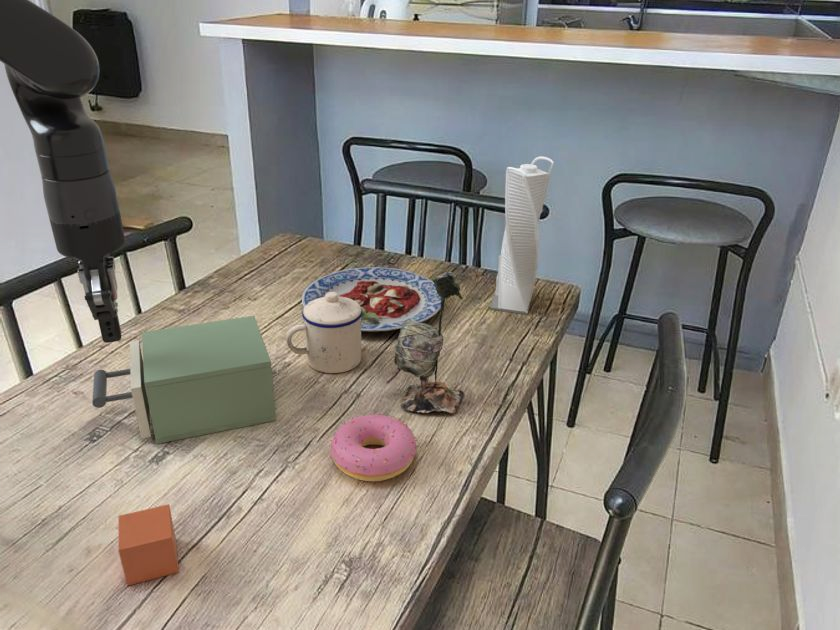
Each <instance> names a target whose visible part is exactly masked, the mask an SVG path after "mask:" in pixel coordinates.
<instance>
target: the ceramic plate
mask: <svg viewBox="0 0 840 630" xmlns="http://www.w3.org/2000/svg"><path fill="white" fill-rule="evenodd" d="M433 281H434V280H431V279H429V278H427V277H425V276H423V275H422V274H419V273H415V272H412V271H409V270H404V269H399V268H391V267H379V266H378V267H377V266H374V267H373V266H372V267H368V266H367V267H355V268H348V269H343V270H338V271H335V272H332V273H329V274H326V275H324V276H322V277H319V278H317V279H316V280H314V281H313V282H311V283H310V284H309V285H308V286H307V287H306V288H305V289H304V291H303V292H302V295H301V304H302V307H303V309H304V308H305V306H306V305H307V304H308V303H309V302H311V301H313V300H315V299H318V298H322V297H325V295H326V294H327V293H328V292H336V293H337V294H338V296H340V297H346V298H349V299H352V300H354V301H356V302H357V303H358V304H359V305H360V307H361V309H362V316H361V332H388V331H395V330H399V329H400V330H401V327H402V325H403V323H404V321H406V320H415V321H418V322H420V323H424V322H425V321H427V320H430V319H431V318H432V317H433V316H435V315H436V314H437V313H438V312H440V310H441V305H440V303H441V298H442V297H440V296H439V295H438V293H437V290H436V287H435V284H434V282H433ZM406 315H408V316H407V317H406Z"/></svg>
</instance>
